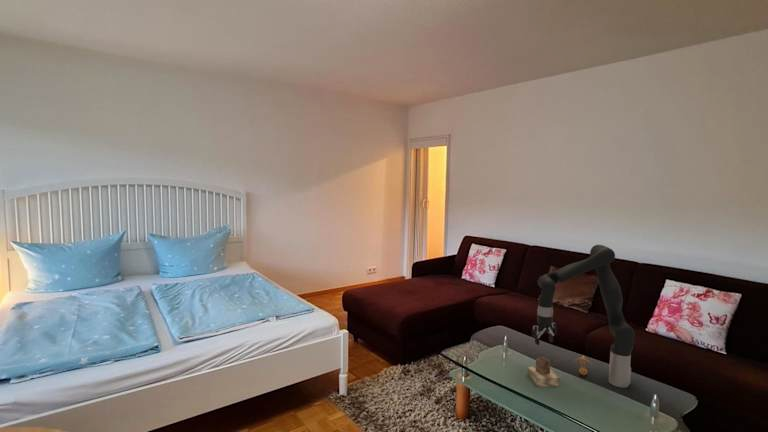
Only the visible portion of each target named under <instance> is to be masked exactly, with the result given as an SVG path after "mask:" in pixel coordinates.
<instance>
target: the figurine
mask: <svg viewBox="0 0 768 432" xmlns="http://www.w3.org/2000/svg"><path fill="white" fill-rule="evenodd" d="M578 360H581V361H580V362H579V363H580V364H581V365H580V368H579V370H578V372H579V374H580V375H582V376H586V375H587V374H588V370H587V369H586V365H587V363H589V364H590V365H591V366H592V363H591V362H590V361H589V360H588V359H587V358H586V357H585V355H584V354H583V355H582V356H581V357H577V358H576V359H575V360H574V362H576V361H578ZM592 367H593V366H592Z"/></svg>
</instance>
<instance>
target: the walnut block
mask: <svg viewBox="0 0 768 432" xmlns="http://www.w3.org/2000/svg"><path fill="white" fill-rule="evenodd" d="M535 367H536V371H537V372H538V373H540V374H541V375H546V374H549V373H550V368H551V359H548V358H546V357H544V356H541V357H537V358H535Z"/></svg>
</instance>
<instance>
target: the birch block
mask: <svg viewBox="0 0 768 432" xmlns="http://www.w3.org/2000/svg"><path fill="white" fill-rule="evenodd" d="M526 369H527V371H526V374H527V377H528V378H529V379H530V380H531V381H532V383H533V384H534V385H535V386H536V388H541V387H542V388H543V387H559V386H560V382H561V379H560V378H561V377H560V376H558V374H557V373H556V372H555V371H554V370H553V369H552V368H551V367H550V373H549V374H546V375H541V374H540V373H538V372H537V371H536V366H528V367H527V368H526Z"/></svg>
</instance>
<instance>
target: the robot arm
mask: <svg viewBox="0 0 768 432" xmlns="http://www.w3.org/2000/svg"><path fill="white" fill-rule="evenodd" d="M615 258H616V254H615V251H614V250H613V249H611V248H610V247H608V246H606V245H603V244H595V245H593V246H592V247H591V249H590V252H589V257H588V258H585V259H583V260H580V261H576V262H573V263H569V264H566V265H565V266H562V267H561V268H558V269H556V270H555V271H551V272H547V273H545V274H543V275H540V276H539V278H538V279H537V285H538V286H539V288H540V289H541V291H540V294H539V296H538V301H537V304H538V305H537V306H538V307H537V312H536V313H537V316H536V320H537V325H535V324H533V325H532V327H531V337H533V338H534V343H535V345H537V346H539V345H540V337H541V336H542V335H543V334H547V333H548V341H549V343H554V336H555V335H558V324H557V323H556V322H554V321H553V319H554V318H553V317H554V308H553V305H554V297H555V292H556V284H564V283H566V282H568V281H569V280H572V279H574V278H575V277H578V276H580V275H582V274H585V273H587V272H590V271H592V270H595V272H596V276H597V281H598V284H599V290H600V294H601V297H602V301H603V305H604V307H605V310H606V314H607V321H608V327H609V332H610V333H611V335H612V336H613V337H614V341H613V342H614V343H613V344H611V345H610V353H609V369H608V372H609V373H608V383H609V384H611V385H612V386H614V387H617V388H623V389H624V388H628V387H629V386H630V385H631V377H632V367H631V358H632V351H633V349H634V345H635V331H634V329H633V327H632V326H630V325H629V324H628V323H627V322H626V320H625V317H624V313H623V303H624V298H623V293H622V289H621V286H620V283H619V281H618V279H617V278H616V276H615V274H614V273H613V271H612V269H611V263H613V261H614V260H615Z"/></svg>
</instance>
